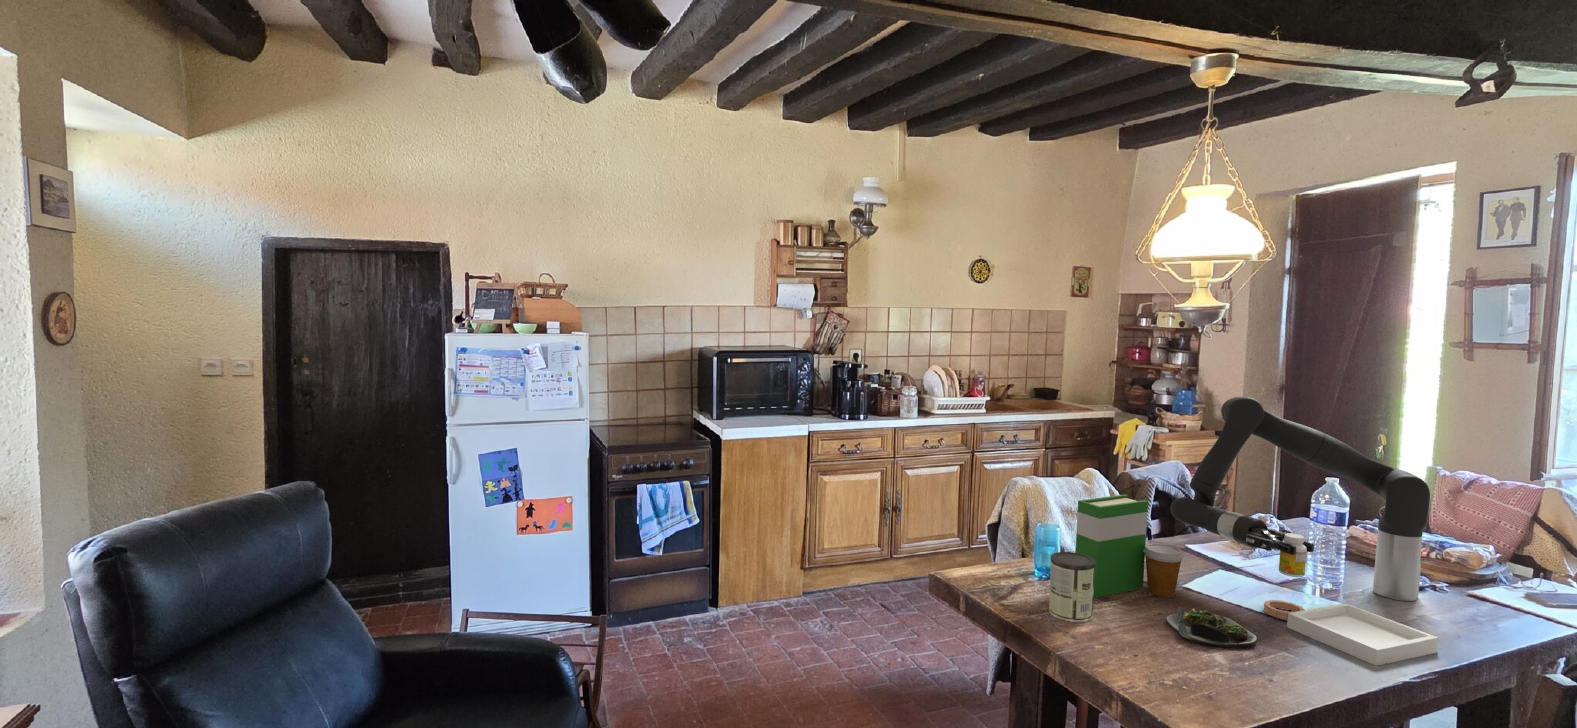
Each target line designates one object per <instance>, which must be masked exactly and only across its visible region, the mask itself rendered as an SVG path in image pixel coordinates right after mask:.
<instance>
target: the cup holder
mask: <svg viewBox="0 0 1577 728" xmlns="http://www.w3.org/2000/svg"><path fill="white" fill-rule="evenodd" d="M1276 608H1280V609H1276ZM1284 609H1285V610H1284ZM1288 610H1291V611H1288ZM1303 610H1306V609H1304V608H1303V607H1302V606H1300V605H1298V604H1296V603H1293V602H1289V601H1285V600H1278V599H1270V600H1269V599H1268V600H1265V601H1264V603H1263V611H1264V612H1265V613H1266V614H1267V615H1269V616H1272V617H1273V618H1276V619H1279V620H1280V619H1281V620H1284V621H1287V620H1288V613H1292V611H1293V612H1297V611H1303Z"/></svg>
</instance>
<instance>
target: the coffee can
mask: <svg viewBox="0 0 1577 728" xmlns="http://www.w3.org/2000/svg"><path fill="white" fill-rule="evenodd" d="M1095 563H1096V562H1095V560H1094V559H1093V558H1091V557H1089V556H1087V555H1084V554H1079V553H1075V552H1073V551H1072V552H1071V551H1061V552H1060V551H1059V552H1054V553H1052V554H1050V576H1049V578H1050V579H1049V581H1050V582H1049V602H1048V603H1049V606H1048V613H1049V614H1050V615H1051V616H1052V617H1054V618H1056V619H1059V620H1061V621H1064V620H1065V621H1064V622H1068V621H1069V622H1068V623H1076V624H1077V623H1087V622H1090V621H1091V620H1092V619H1093V617H1094V616H1093V613H1094V612H1093V611H1094V610H1093V609H1094V597H1093V591H1094V570H1095Z"/></svg>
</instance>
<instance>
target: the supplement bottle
mask: <svg viewBox="0 0 1577 728" xmlns="http://www.w3.org/2000/svg"><path fill="white" fill-rule="evenodd" d="M1304 541H1305V537H1304V535H1301V534H1298V533H1295V534H1294V532H1292V533H1286V534H1285V543H1288V544H1291V545H1294V546H1296V554H1294V555H1291V554H1288V553H1285V552H1283V551H1280V550H1279V563H1278V572H1279V573H1280V574H1281V575H1283V576H1284V575H1285V576H1287V577H1291V578H1304V576H1305V575H1306V566H1307V565H1306V563H1307V548H1306V546H1304V545H1303V543H1304Z"/></svg>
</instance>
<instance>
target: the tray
mask: <svg viewBox="0 0 1577 728" xmlns="http://www.w3.org/2000/svg"><path fill="white" fill-rule="evenodd" d="M1291 612H1292V611H1291ZM1286 621H1287V622H1286V628H1288V629H1290V630H1292V631H1295V632H1297V633H1299V634H1302V635H1304V636H1306V637H1308V638H1311V639H1313V640H1315V641H1317V642H1320V643H1323V644H1325V645H1327V646H1330V647H1332V648H1334V649H1336V650H1339V651H1341V652H1344V653H1346V654H1348V655H1350V656H1353V657H1355V658H1357V659H1359V660H1362V661H1363V662H1366V663H1369V664H1371V663H1372V664H1371V665H1373V666H1376V667H1377V666H1382V665H1387V664H1391V663H1395V662H1401V661H1405V660H1411V659H1415V658H1419V657H1424V656H1429V655H1434V654H1437V653H1438V652H1439V651H1438V649H1439V637H1438V636H1435V635H1433V634H1429V633H1427V632H1425V631H1422V630H1419V629H1416V628H1414V627H1411V626H1408V625H1406V624H1404V623H1400V622H1397V621H1396V620H1392V619H1390V618H1387V617H1385V616H1381V615H1379V614H1376V613H1373V612H1371V611H1368V610H1365V609H1363V608H1360V607H1358V606H1355V605H1352V604H1349V603H1348V602H1347V603H1346V602H1345V603H1340V604H1333V605H1327V606H1324V607H1323V606H1322V607H1316V608H1310V609H1305V610H1303V611H1297V612H1292V613H1288V620H1286ZM1433 653H1434V654H1433ZM1386 663H1387V664H1386Z"/></svg>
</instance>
